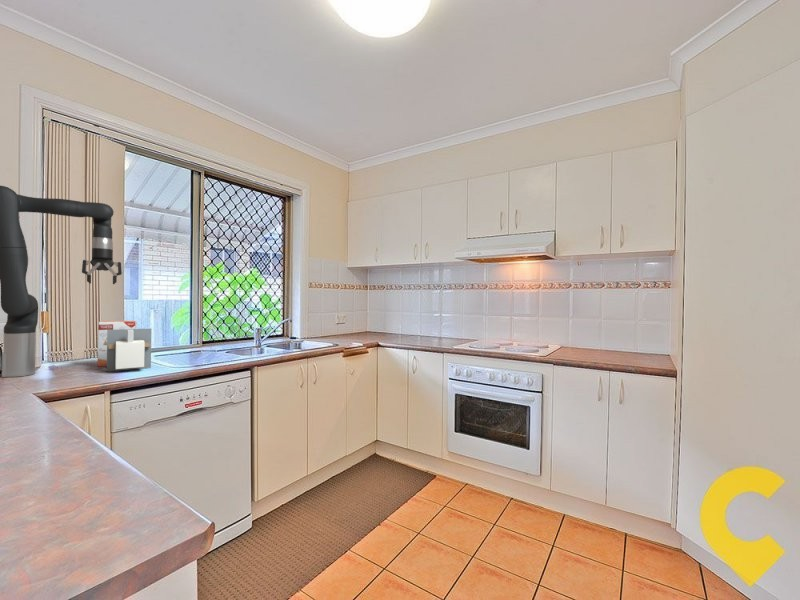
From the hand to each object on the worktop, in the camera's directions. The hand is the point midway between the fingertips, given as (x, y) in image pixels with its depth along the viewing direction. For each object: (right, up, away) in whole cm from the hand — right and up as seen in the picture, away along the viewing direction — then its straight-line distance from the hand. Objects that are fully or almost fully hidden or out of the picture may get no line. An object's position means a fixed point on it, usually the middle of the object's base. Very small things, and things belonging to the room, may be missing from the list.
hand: (102, 283), depth 173 cm
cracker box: (+3, -38, +6) cm, 39 cm away
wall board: (+15, -39, -4) cm, 41 cm away
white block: (+18, -36, -7) cm, 41 cm away
